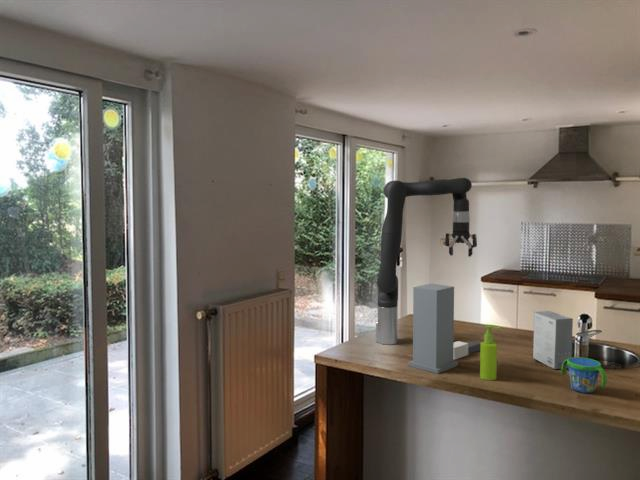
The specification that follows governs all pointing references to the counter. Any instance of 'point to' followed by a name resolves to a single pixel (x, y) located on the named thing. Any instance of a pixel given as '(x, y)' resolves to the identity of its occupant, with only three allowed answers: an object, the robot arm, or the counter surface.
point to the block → (464, 348)
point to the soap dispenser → (488, 355)
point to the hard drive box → (552, 338)
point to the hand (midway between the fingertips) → (460, 255)
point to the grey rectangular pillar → (433, 328)
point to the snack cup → (584, 373)
